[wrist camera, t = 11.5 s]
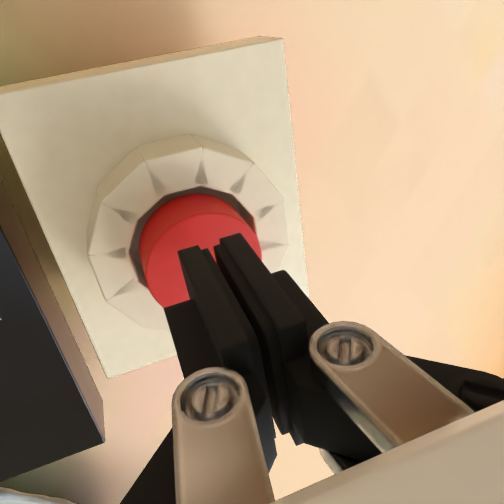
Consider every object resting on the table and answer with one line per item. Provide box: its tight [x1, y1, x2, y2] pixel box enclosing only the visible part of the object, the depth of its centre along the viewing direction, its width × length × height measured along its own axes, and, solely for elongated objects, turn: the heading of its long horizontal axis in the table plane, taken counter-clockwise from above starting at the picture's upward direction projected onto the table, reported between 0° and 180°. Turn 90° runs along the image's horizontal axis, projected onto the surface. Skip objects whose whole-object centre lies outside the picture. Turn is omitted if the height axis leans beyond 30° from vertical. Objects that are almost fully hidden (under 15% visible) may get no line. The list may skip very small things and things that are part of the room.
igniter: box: [0, 36, 309, 378], centre depth 16 cm, size 11×9×4 cm
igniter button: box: [139, 193, 262, 308], centre depth 14 cm, size 4×4×2 cm
